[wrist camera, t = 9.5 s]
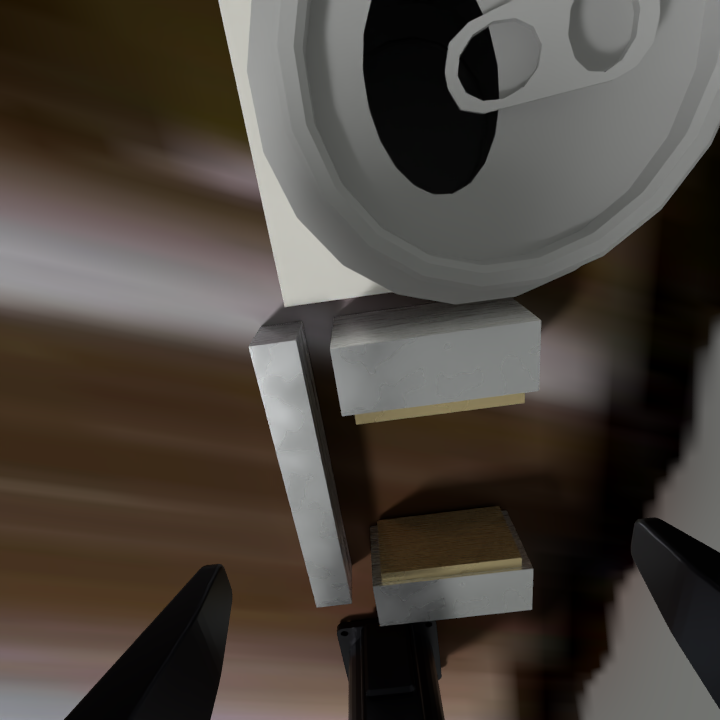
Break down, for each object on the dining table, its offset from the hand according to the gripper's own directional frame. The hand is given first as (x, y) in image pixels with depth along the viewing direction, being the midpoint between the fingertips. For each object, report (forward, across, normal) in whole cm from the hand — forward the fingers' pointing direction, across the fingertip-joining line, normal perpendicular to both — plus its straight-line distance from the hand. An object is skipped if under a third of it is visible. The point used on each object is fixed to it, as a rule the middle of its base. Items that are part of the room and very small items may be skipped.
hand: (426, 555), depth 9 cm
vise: (+12, 0, +6) cm, 14 cm away
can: (+12, -2, -9) cm, 15 cm away
